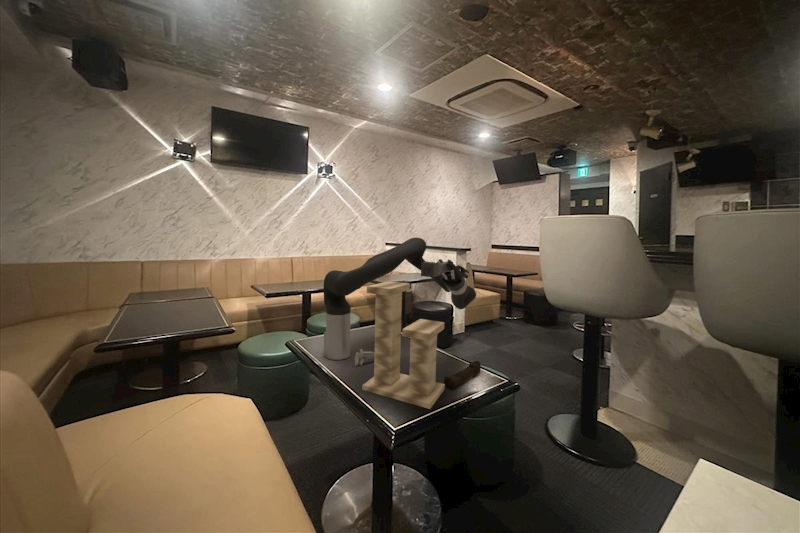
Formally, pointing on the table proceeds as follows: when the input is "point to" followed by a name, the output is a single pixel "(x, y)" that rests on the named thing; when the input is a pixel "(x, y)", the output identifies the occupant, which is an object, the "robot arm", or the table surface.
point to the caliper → (363, 356)
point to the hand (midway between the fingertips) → (444, 261)
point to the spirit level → (433, 268)
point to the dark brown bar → (462, 375)
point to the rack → (388, 344)
